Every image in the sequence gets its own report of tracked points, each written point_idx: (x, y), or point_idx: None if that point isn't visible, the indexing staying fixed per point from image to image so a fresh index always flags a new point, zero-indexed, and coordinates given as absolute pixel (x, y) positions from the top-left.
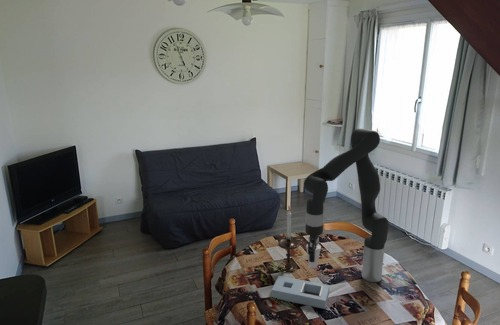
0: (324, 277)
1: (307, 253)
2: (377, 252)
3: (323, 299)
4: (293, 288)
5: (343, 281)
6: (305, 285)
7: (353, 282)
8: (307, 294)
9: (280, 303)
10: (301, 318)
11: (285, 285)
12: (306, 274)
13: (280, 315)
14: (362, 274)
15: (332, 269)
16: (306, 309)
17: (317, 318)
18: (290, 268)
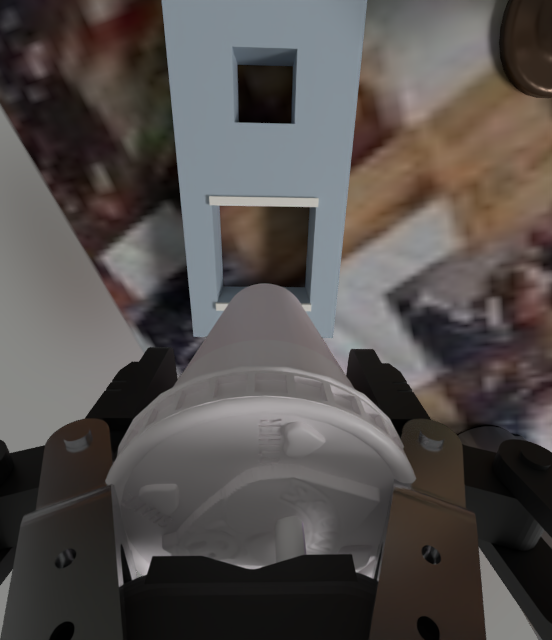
0: (458, 281)
1: (228, 338)
2: (532, 626)
3: (199, 326)
4: (236, 140)
5: (432, 365)
6: (314, 207)
7: (430, 400)
8: (208, 241)
9: (145, 77)
10: (85, 227)
11: (295, 64)
12: (482, 178)
13: (45, 108)
14: (481, 437)
15: (540, 309)
16: (161, 238)
17: (124, 295)
18: (546, 44)
